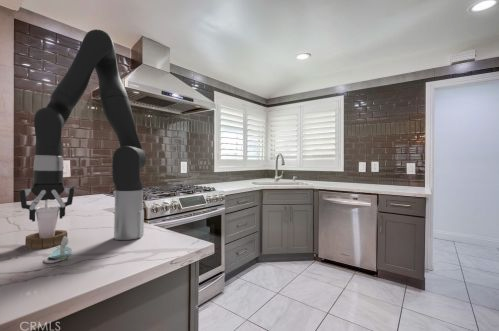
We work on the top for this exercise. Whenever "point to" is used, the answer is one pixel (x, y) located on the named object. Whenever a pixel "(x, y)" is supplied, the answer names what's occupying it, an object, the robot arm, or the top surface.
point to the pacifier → (59, 252)
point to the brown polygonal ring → (44, 240)
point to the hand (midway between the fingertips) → (47, 219)
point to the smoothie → (47, 220)
